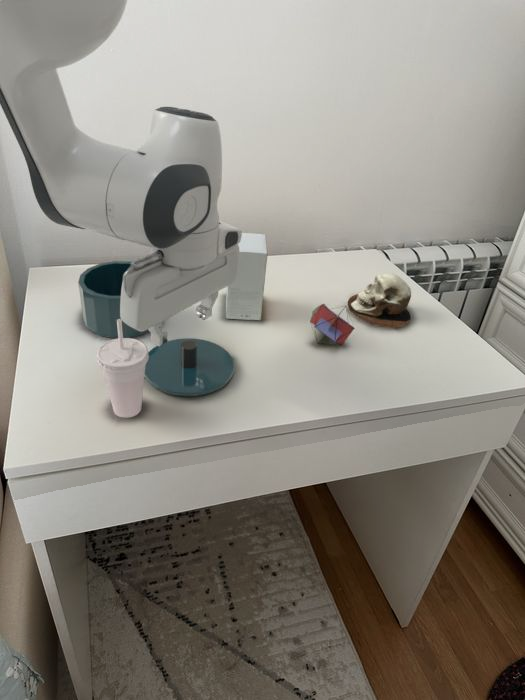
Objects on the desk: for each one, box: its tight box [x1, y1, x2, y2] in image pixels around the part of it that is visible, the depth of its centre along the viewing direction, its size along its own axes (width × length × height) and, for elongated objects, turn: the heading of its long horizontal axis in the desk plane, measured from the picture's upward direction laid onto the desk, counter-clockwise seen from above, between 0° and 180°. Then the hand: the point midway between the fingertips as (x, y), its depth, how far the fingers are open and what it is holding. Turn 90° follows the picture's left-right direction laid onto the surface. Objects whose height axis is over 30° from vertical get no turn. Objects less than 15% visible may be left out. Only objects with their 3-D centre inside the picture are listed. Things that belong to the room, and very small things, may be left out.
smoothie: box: [96, 319, 149, 419], centre depth 69 cm, size 6×6×14 cm
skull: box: [347, 272, 412, 329], centre depth 99 cm, size 12×10×10 cm
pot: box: [77, 260, 150, 339], centre depth 89 cm, size 13×13×8 cm
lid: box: [144, 337, 235, 397], centre depth 80 cm, size 14×14×5 cm
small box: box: [225, 232, 269, 321], centre depth 93 cm, size 8×6×13 cm
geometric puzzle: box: [309, 303, 356, 346], centre depth 89 cm, size 7×7×8 cm
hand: (182, 329), depth 77 cm, fingers open, 8 cm apart
